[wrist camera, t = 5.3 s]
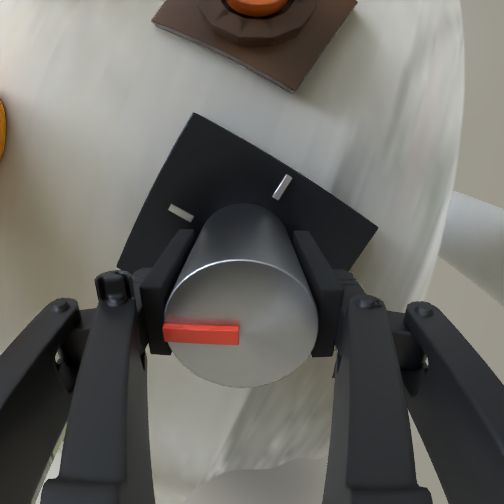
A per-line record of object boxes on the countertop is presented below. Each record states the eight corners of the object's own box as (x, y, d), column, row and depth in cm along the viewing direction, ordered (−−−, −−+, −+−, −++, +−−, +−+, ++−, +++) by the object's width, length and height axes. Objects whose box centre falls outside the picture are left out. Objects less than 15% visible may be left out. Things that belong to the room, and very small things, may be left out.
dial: (292, 204, 16) (332, 264, 9) (286, 289, 18) (310, 392, 10) (197, 202, 16) (152, 261, 8) (199, 287, 18) (170, 389, 10)
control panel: (361, 215, 20) (380, 228, 17) (280, 328, 23) (284, 355, 20) (201, 115, 17) (192, 111, 14) (131, 250, 20) (114, 268, 17)
